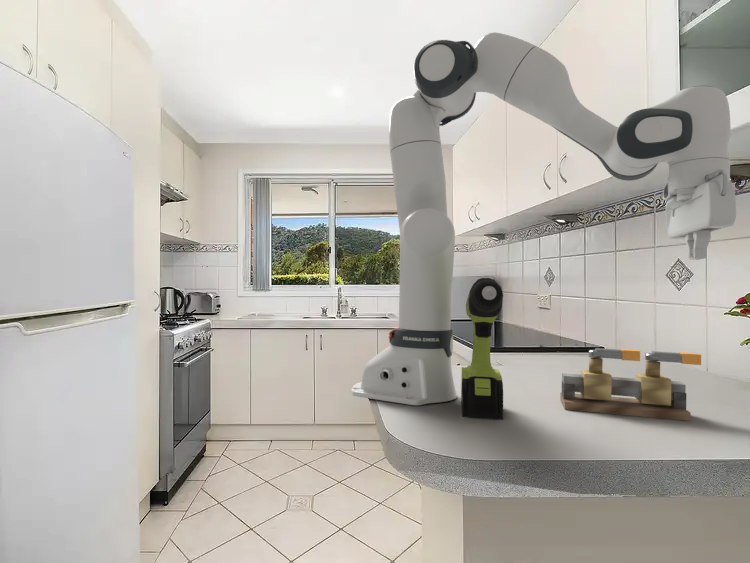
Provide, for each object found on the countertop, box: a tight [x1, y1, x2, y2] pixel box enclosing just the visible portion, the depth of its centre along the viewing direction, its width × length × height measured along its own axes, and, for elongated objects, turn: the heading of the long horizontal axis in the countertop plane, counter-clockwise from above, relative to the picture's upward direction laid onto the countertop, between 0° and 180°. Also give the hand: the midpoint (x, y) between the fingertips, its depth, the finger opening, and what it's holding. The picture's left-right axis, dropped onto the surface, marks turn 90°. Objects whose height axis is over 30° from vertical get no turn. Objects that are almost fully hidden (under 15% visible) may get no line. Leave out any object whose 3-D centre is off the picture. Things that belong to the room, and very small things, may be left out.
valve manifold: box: [559, 357, 691, 422], centre depth 88 cm, size 21×8×10 cm, turn 73°
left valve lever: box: [588, 347, 641, 362], centre depth 88 cm, size 9×3×2 cm, turn 71°
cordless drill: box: [460, 277, 504, 420], centre depth 81 cm, size 23×7×25 cm, turn 170°
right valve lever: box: [644, 350, 702, 366], centre depth 85 cm, size 9×3×2 cm, turn 70°
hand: (697, 259), depth 79 cm, fingers closed
